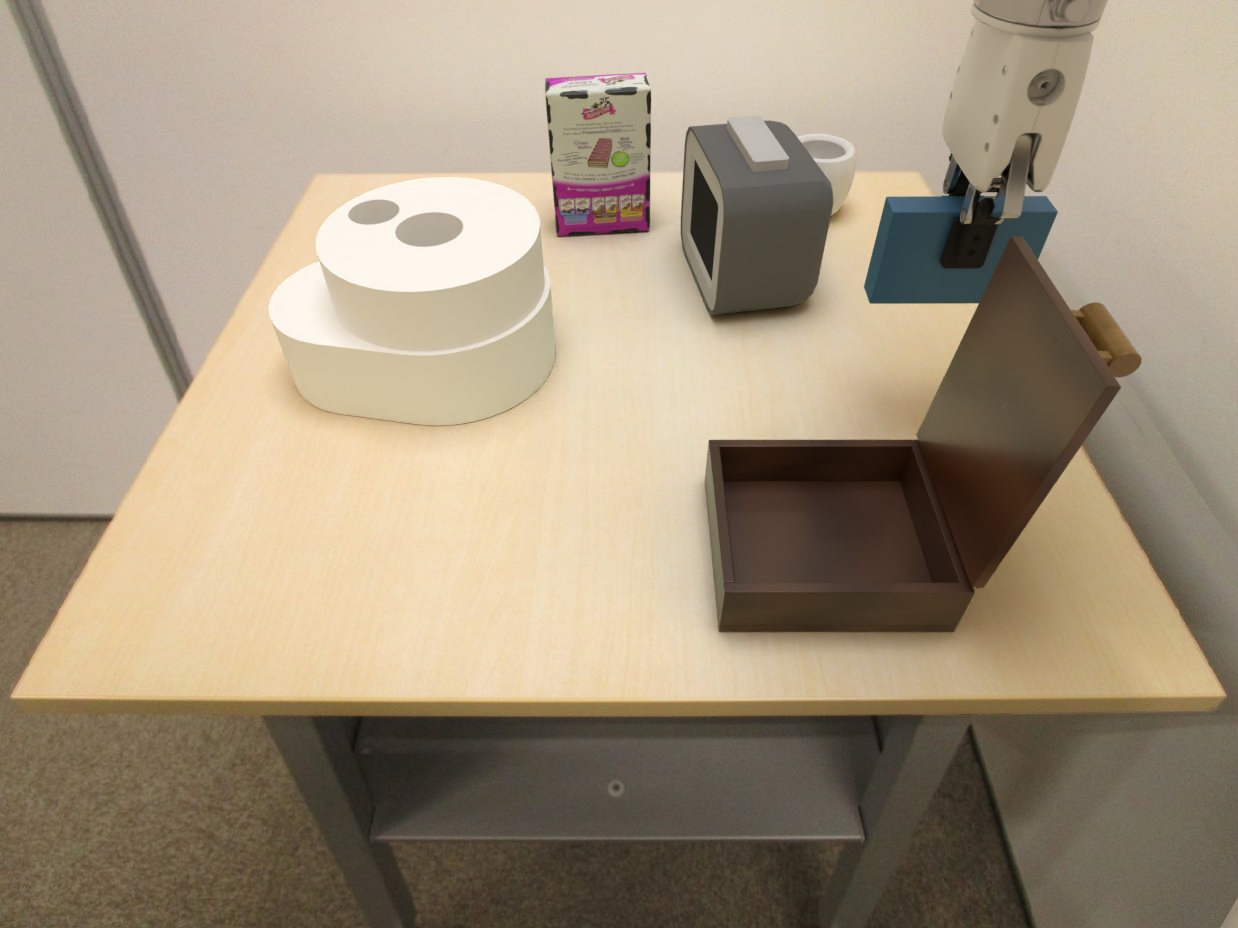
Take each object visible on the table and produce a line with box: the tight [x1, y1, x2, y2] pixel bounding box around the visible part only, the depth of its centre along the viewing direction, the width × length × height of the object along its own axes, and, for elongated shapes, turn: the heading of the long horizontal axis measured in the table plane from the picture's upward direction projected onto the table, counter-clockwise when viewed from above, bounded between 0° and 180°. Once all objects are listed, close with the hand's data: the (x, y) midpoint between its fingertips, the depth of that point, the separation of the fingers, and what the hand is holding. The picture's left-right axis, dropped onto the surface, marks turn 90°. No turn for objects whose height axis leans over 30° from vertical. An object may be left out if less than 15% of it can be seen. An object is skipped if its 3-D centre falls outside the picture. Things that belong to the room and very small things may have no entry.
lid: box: [916, 236, 1142, 589], centre depth 52 cm, size 17×15×5 cm
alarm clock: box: [680, 115, 833, 316], centre depth 83 cm, size 16×11×16 cm
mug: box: [797, 133, 857, 217], centre depth 95 cm, size 12×8×8 cm
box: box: [704, 439, 976, 633], centre depth 61 cm, size 17×15×5 cm
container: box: [268, 176, 557, 427], centre depth 74 cm, size 20×25×14 cm
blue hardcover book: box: [863, 195, 1059, 305], centre depth 63 cm, size 12×2×8 cm, turn 90°
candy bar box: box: [544, 72, 652, 237], centre depth 91 cm, size 11×5×16 cm, turn 95°
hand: (955, 253), depth 63 cm, fingers closed on blue hardcover book, 2 cm apart
